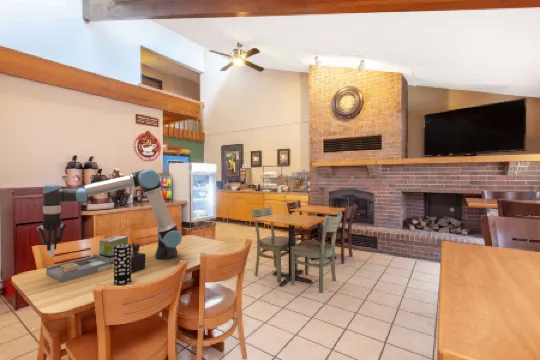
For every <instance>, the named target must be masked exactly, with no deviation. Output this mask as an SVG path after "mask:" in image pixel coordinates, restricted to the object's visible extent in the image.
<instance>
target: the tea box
mask: <svg viewBox="0 0 540 360" xmlns="http://www.w3.org/2000/svg"><path fill="white" fill-rule="evenodd" d="M120 244H129V236H124V235H114V236H111V237H107V238H103V239H100V240H99V249H98V250H99V251H98V252H99V254H98V255H100V256H103V257H106V258H109V259H111V264H112V263H113V264H114V246H116V245H120Z"/></svg>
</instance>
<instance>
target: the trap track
mask: <svg viewBox="0 0 540 360" xmlns="http://www.w3.org/2000/svg"><path fill="white" fill-rule="evenodd" d="M69 263H75V264H78V270H77V271H73V272H69V273H66V274H63V273H61V265H65V264H69ZM45 268H46V275H47V276H49V277H50V278H52V279H54V280H57V281H58V280H59V281H58V282H60V281H61V283H65V282H67V280H68V281H70V280H71V281H72V280H74V279H77V278H82V277H84V276H88V275H92V274H94V273H95V274H96V273H99V272H102V271H105V270H108V269H112V263H111V259H109V258H106V257H103V256H100V255H99V254H96V253H93V256H90V257H89V256H88V257H85V258H80V259H76V260H72V261H68V262H64V263H60V264H56V265H51V266H48V267H45Z"/></svg>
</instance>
